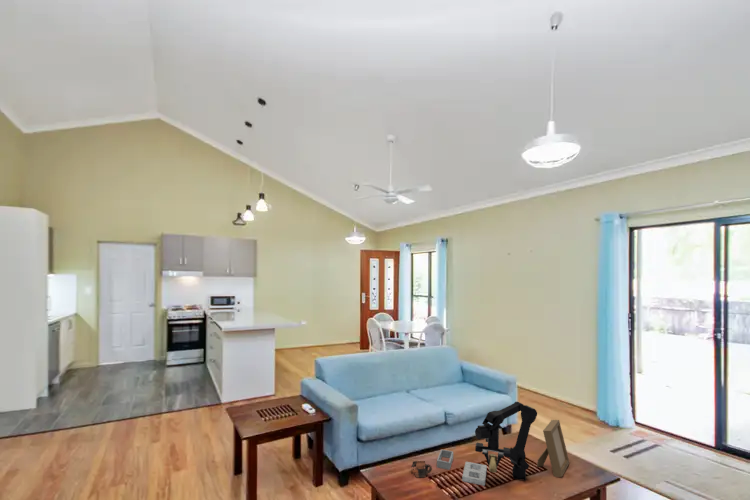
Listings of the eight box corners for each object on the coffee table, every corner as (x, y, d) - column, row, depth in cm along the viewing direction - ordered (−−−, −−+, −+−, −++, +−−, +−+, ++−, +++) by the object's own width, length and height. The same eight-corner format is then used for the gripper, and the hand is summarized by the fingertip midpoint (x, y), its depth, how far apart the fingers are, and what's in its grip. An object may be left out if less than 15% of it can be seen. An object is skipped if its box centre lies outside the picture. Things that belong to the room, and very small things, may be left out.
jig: (486, 469, 223) (486, 465, 223) (484, 485, 206) (484, 481, 206) (465, 465, 227) (465, 461, 227) (462, 481, 210) (462, 476, 210)
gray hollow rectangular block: (453, 458, 236) (453, 451, 236) (449, 469, 222) (449, 462, 222) (441, 455, 239) (441, 449, 239) (436, 467, 224) (436, 460, 225)
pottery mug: (410, 478, 213) (408, 461, 217) (415, 478, 220) (414, 462, 225) (431, 476, 209) (429, 459, 214) (435, 477, 216) (433, 460, 221)
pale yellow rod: (496, 469, 211) (496, 454, 212) (496, 473, 207) (496, 458, 208) (489, 468, 213) (489, 453, 213) (488, 471, 209) (489, 456, 209)
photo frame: (569, 464, 233) (569, 422, 235) (561, 478, 216) (561, 433, 217) (543, 456, 242) (543, 416, 244) (534, 470, 225) (534, 426, 226)
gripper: (511, 434, 216) (510, 462, 215) (477, 428, 222) (476, 456, 221) (511, 442, 205) (510, 471, 204) (475, 436, 211) (474, 465, 210)
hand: (492, 465), depth 210 cm, fingers closed on pale yellow rod, 4 cm apart
